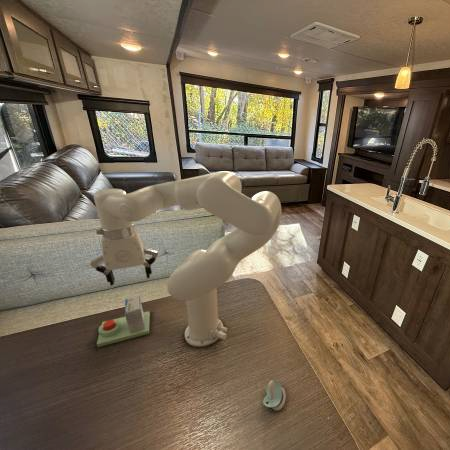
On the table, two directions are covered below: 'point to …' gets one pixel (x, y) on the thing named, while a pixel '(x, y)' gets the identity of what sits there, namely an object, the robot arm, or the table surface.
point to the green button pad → (121, 331)
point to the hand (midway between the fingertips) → (131, 279)
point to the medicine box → (134, 314)
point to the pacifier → (274, 395)
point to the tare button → (109, 325)
